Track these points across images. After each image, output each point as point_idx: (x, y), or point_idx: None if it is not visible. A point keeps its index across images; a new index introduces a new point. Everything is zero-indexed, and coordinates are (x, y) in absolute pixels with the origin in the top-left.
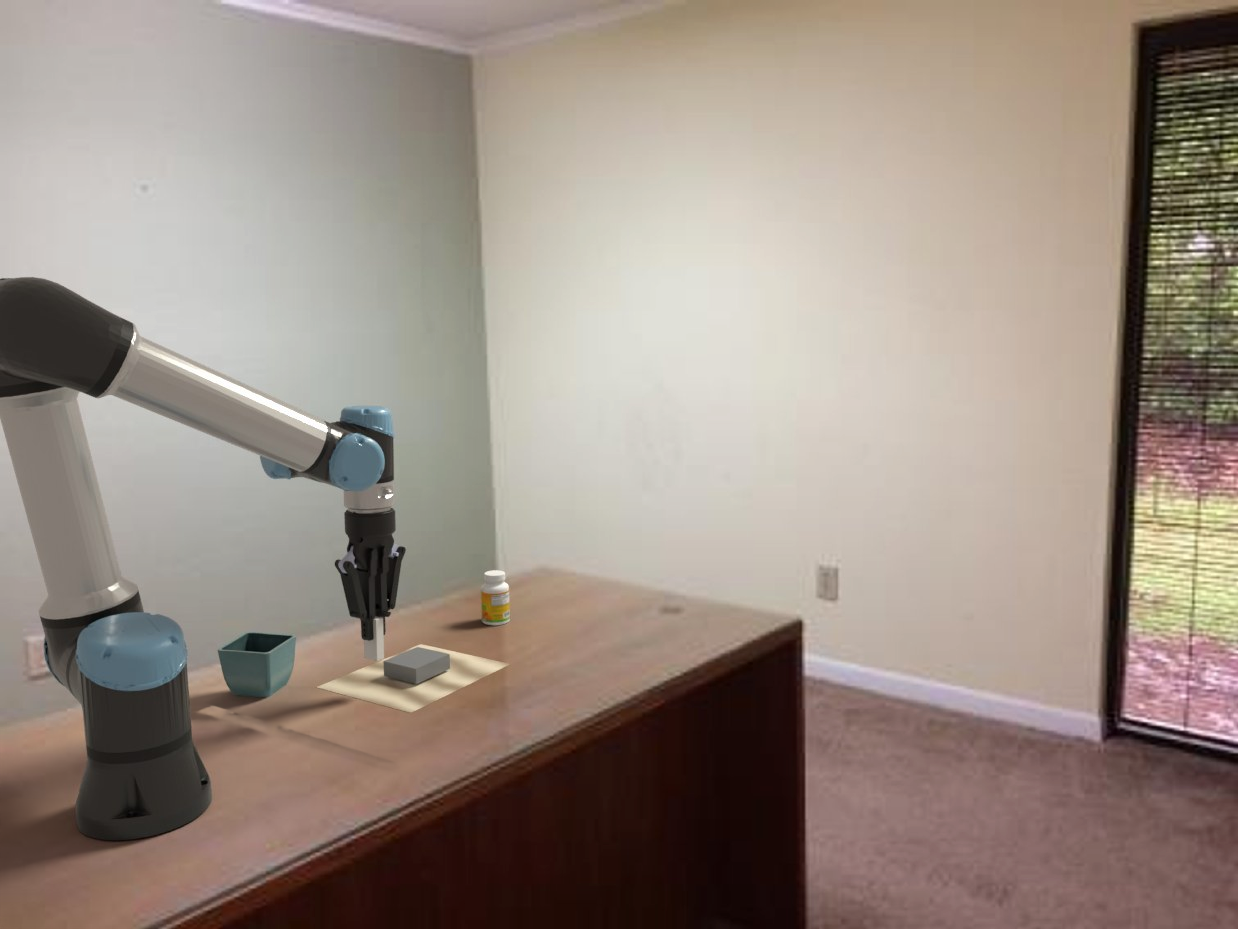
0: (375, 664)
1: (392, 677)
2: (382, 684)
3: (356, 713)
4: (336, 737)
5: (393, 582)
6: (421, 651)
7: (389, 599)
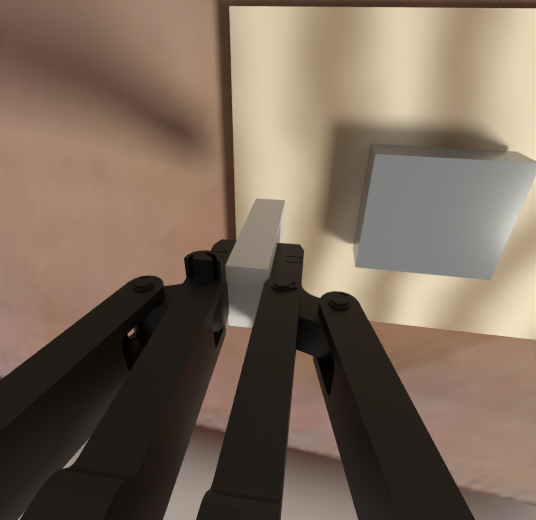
0: (472, 24)
1: (365, 175)
2: (330, 168)
3: (210, 194)
4: (122, 234)
5: (347, 472)
6: (495, 202)
7: (319, 377)
